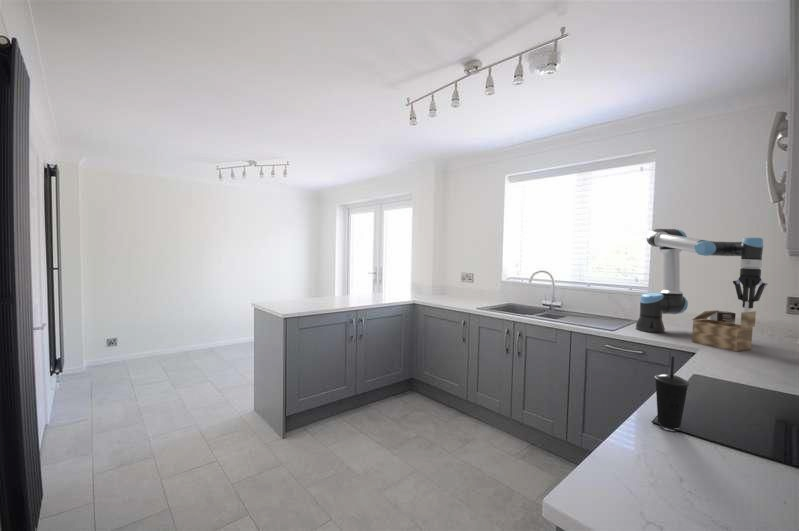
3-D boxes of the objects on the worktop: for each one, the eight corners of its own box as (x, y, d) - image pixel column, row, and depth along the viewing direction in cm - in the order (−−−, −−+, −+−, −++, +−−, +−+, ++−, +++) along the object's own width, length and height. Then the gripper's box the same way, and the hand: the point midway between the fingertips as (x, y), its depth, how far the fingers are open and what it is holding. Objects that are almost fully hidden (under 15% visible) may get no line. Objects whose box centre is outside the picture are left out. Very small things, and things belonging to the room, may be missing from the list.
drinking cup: (645, 420, 103) (649, 352, 102) (673, 421, 102) (678, 353, 101) (662, 433, 95) (667, 360, 94) (693, 435, 94) (698, 362, 94)
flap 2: (741, 312, 177) (742, 312, 177) (754, 311, 183) (755, 311, 182) (740, 328, 178) (741, 328, 177) (753, 326, 183) (754, 326, 183)
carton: (691, 341, 197) (693, 320, 197) (705, 340, 202) (706, 319, 202) (737, 351, 179) (739, 328, 178) (751, 349, 184) (752, 326, 183)
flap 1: (718, 310, 197) (718, 310, 197) (705, 311, 191) (704, 311, 192) (705, 318, 202) (705, 318, 202) (692, 320, 197) (691, 319, 197)
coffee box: (716, 340, 202) (718, 312, 202) (708, 337, 209) (709, 310, 208) (734, 341, 201) (736, 313, 201) (724, 338, 208) (726, 311, 207)
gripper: (730, 267, 184) (727, 312, 185) (763, 269, 172) (760, 317, 173) (738, 267, 187) (735, 311, 188) (771, 269, 175) (767, 316, 176)
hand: (747, 314), depth 180 cm, fingers closed
